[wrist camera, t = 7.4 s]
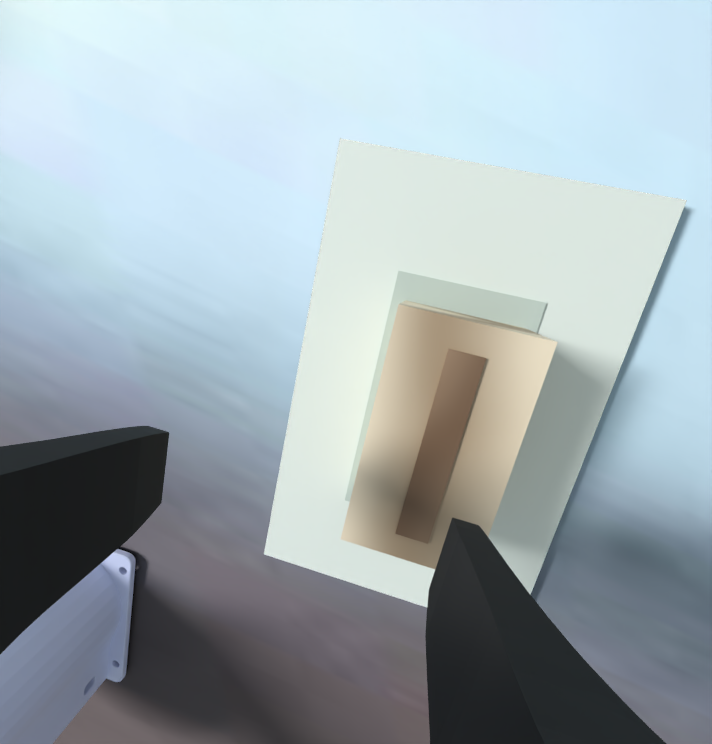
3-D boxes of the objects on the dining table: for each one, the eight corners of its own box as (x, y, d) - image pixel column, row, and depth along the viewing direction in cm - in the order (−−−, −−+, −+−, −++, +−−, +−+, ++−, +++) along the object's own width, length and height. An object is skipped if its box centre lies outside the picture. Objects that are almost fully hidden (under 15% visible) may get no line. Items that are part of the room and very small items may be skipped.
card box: (526, 328, 16) (558, 342, 12) (462, 518, 18) (472, 583, 14) (405, 300, 16) (398, 304, 12) (358, 487, 19) (340, 541, 15)
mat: (512, 627, 19) (514, 637, 19) (267, 548, 21) (263, 555, 20) (678, 203, 14) (688, 199, 14) (342, 142, 16) (339, 137, 16)
